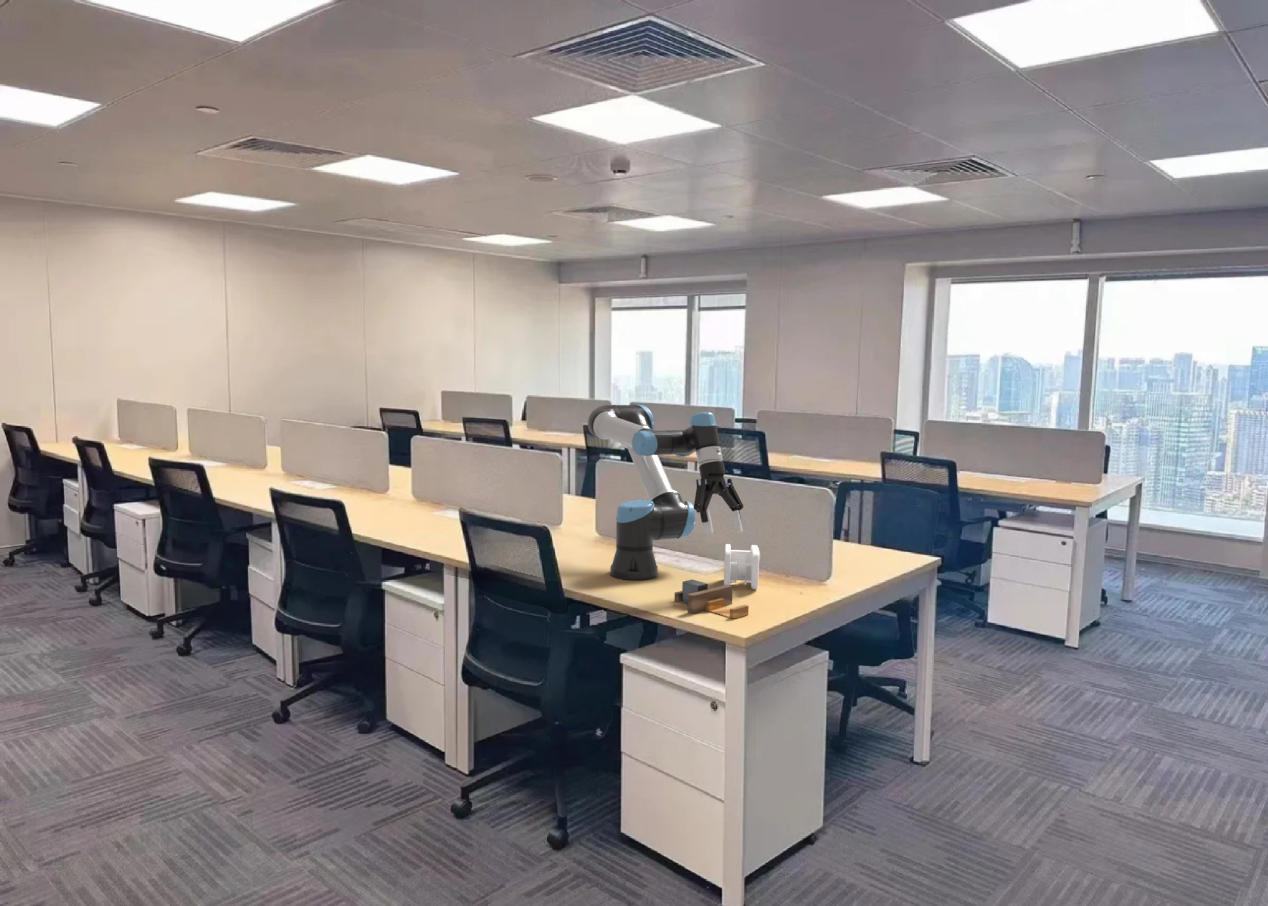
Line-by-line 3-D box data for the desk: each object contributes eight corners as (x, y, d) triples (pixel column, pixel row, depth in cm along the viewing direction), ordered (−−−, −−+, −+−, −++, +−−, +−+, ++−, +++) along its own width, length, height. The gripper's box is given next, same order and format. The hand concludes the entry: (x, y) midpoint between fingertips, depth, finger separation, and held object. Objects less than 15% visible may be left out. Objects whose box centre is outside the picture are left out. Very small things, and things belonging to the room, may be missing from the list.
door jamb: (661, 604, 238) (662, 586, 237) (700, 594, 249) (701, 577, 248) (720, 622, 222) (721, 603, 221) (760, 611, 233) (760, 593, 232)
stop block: (681, 602, 240) (682, 581, 240) (691, 599, 243) (692, 579, 243) (697, 607, 236) (698, 585, 235) (707, 604, 239) (707, 583, 238)
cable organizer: (723, 578, 269) (724, 542, 268) (757, 579, 268) (758, 543, 266) (723, 590, 254) (724, 552, 253) (759, 592, 253) (760, 553, 252)
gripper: (692, 458, 243) (706, 531, 239) (746, 461, 261) (759, 529, 256) (673, 465, 248) (686, 536, 244) (727, 467, 266) (740, 534, 261)
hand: (724, 533), depth 250 cm, fingers open, 13 cm apart
